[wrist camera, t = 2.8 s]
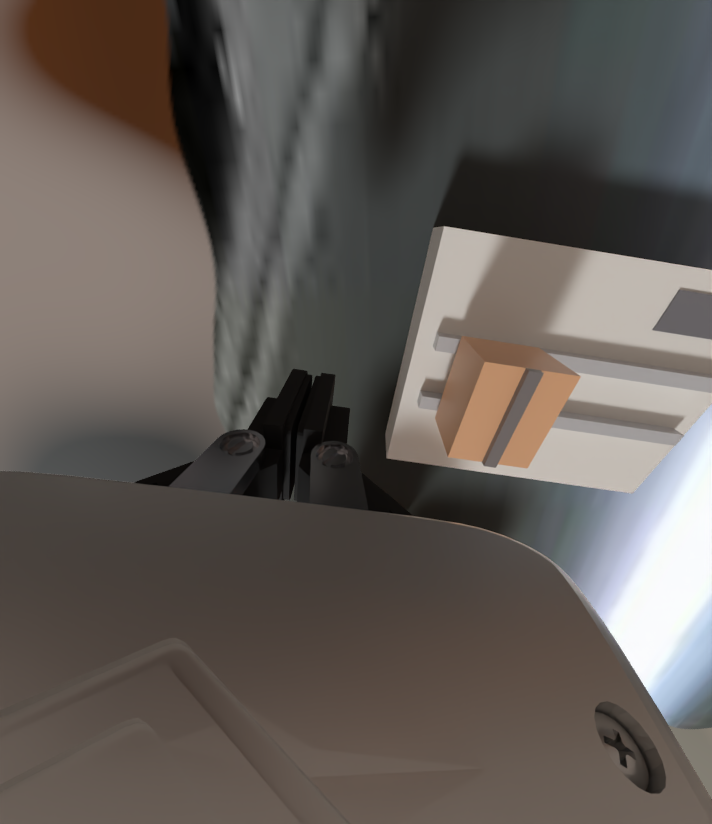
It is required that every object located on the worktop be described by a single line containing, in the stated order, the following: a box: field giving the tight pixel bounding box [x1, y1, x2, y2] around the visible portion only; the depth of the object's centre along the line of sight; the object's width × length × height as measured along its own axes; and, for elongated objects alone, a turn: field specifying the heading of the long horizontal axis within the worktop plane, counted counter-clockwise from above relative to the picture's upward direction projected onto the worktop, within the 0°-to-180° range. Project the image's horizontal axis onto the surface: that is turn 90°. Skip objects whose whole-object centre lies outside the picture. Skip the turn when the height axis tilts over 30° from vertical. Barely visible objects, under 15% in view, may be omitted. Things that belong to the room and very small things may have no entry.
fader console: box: [385, 226, 712, 493], centre depth 18 cm, size 18×14×4 cm
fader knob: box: [435, 336, 581, 468], centre depth 15 cm, size 4×5×5 cm
